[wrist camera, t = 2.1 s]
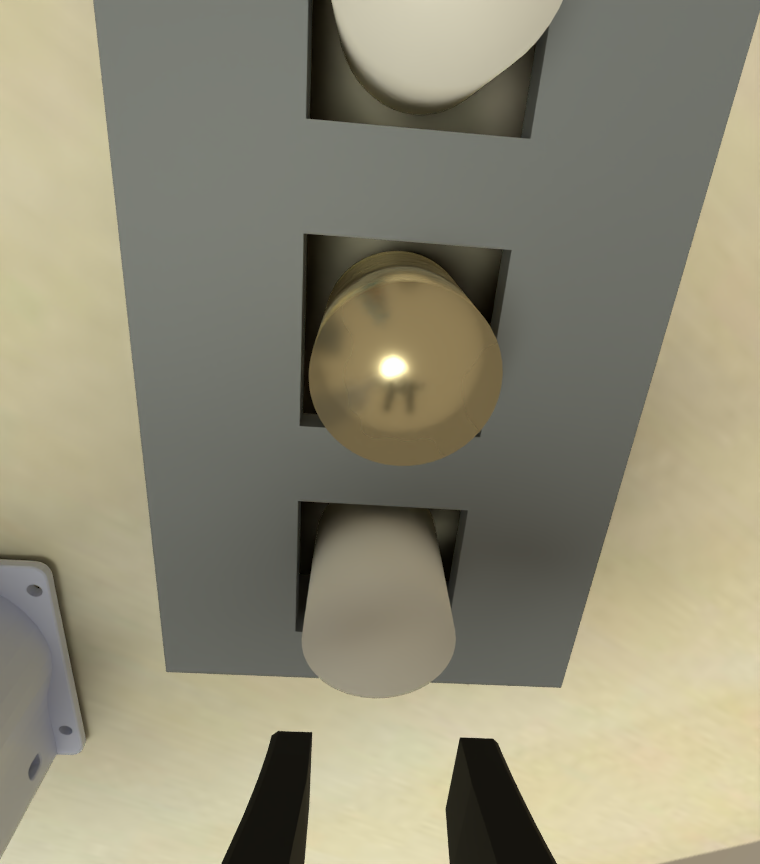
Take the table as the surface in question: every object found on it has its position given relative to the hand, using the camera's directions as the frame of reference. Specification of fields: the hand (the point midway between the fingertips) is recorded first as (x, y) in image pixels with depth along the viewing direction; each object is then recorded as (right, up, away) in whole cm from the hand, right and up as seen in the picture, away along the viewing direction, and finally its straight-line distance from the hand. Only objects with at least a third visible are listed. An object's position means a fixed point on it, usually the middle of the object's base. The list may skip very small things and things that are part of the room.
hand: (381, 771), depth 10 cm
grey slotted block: (0, +10, +6) cm, 11 cm away
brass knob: (0, +9, +4) cm, 10 cm away
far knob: (0, +3, +7) cm, 7 cm away
